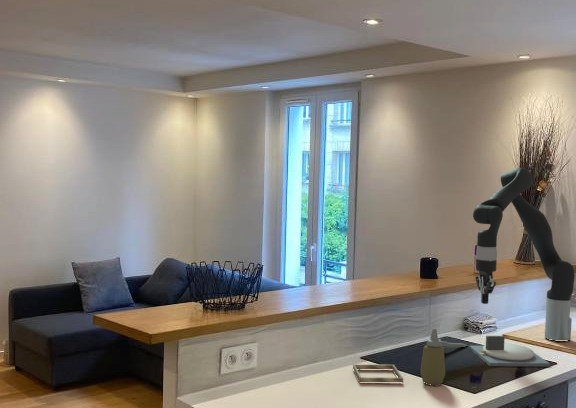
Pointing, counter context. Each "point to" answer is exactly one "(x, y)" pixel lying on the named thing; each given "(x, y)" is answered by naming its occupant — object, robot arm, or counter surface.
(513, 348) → the dial
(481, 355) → the dial plate
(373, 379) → the bread board rim
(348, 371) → the counter surface
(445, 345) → the caliper
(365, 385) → the counter surface
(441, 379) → the squeeze bottle
